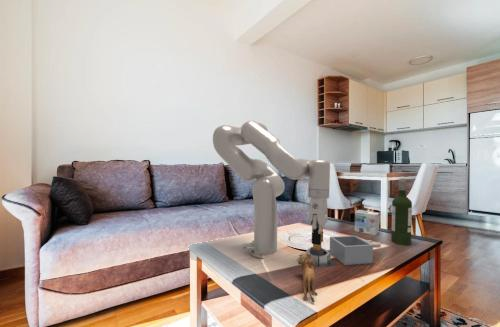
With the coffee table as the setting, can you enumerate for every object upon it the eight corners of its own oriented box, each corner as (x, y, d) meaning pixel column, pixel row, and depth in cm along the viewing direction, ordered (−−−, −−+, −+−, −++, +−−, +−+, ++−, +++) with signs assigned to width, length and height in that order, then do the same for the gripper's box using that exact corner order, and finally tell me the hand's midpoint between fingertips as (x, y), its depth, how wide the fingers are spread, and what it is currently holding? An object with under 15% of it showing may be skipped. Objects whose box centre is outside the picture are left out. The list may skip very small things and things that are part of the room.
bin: (344, 269, 87) (345, 246, 87) (329, 256, 98) (329, 236, 98) (372, 267, 89) (373, 245, 89) (354, 255, 100) (355, 235, 100)
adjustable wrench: (338, 255, 101) (338, 251, 100) (328, 250, 106) (328, 246, 106) (383, 247, 110) (383, 243, 110) (371, 242, 116) (371, 238, 116)
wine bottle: (414, 245, 111) (416, 179, 110) (395, 244, 112) (397, 179, 111) (406, 239, 119) (407, 177, 118) (388, 239, 120) (389, 177, 119)
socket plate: (310, 271, 85) (310, 258, 85) (298, 258, 96) (298, 247, 96) (339, 269, 87) (339, 256, 87) (324, 257, 98) (325, 245, 98)
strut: (322, 261, 88) (323, 216, 88) (308, 258, 90) (309, 215, 90) (325, 256, 92) (326, 214, 92) (311, 253, 95) (312, 212, 94)
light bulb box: (354, 231, 132) (354, 211, 132) (357, 228, 137) (358, 209, 137) (375, 235, 125) (376, 214, 125) (379, 232, 130) (379, 212, 130)
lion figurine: (295, 277, 81) (295, 250, 81) (311, 278, 81) (312, 250, 81) (304, 304, 66) (305, 271, 66) (324, 304, 66) (324, 271, 66)
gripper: (324, 197, 82) (323, 252, 82) (332, 191, 96) (331, 237, 97) (302, 195, 85) (301, 247, 86) (313, 189, 100) (312, 234, 100)
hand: (317, 242), depth 91 cm, fingers closed on strut, 3 cm apart
